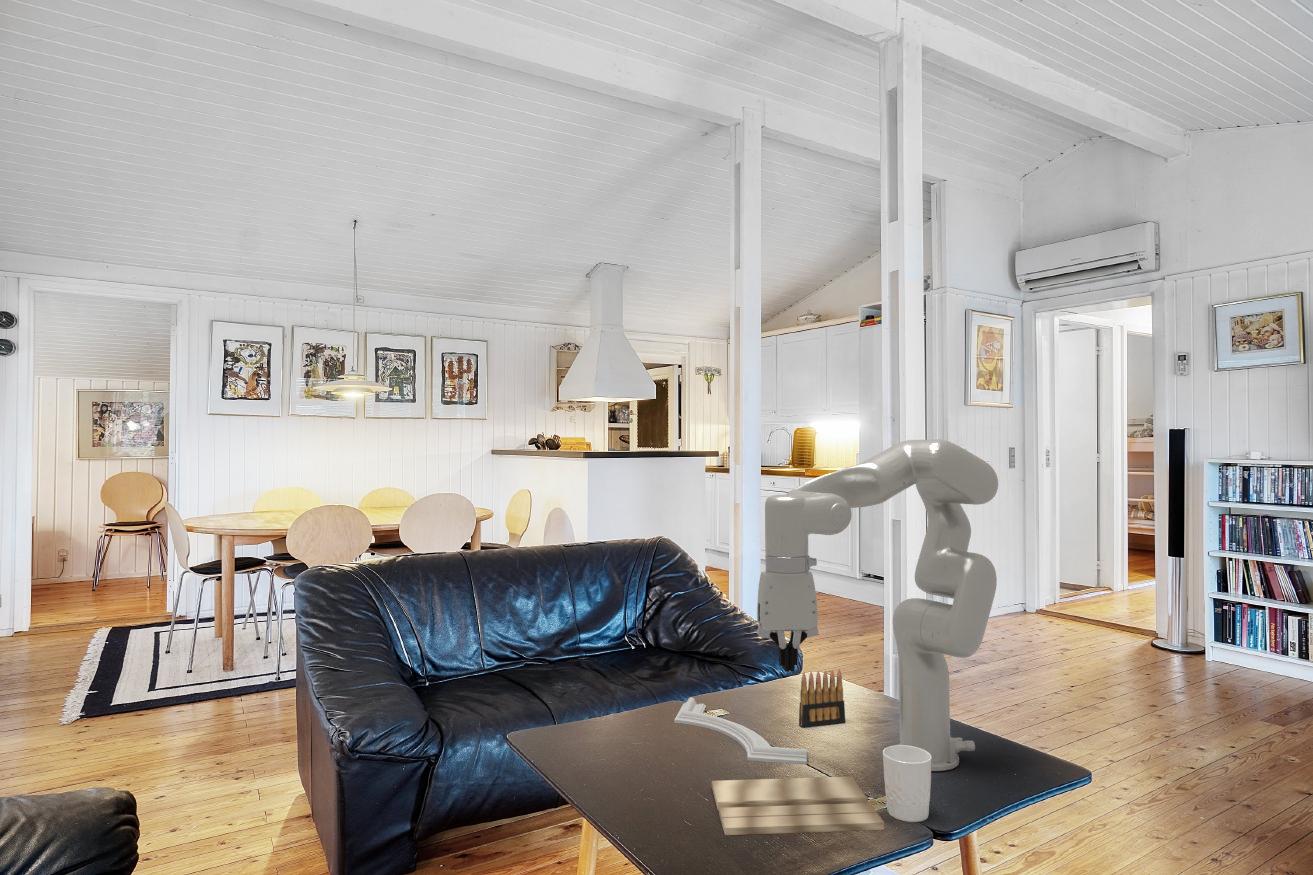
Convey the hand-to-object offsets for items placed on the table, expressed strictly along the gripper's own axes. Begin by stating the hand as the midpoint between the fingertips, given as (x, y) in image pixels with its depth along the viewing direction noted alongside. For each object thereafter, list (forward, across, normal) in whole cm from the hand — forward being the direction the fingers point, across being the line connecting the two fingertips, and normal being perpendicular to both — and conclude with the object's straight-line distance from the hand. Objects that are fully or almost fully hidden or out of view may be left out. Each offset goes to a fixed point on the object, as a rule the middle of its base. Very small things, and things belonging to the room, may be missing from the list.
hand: (788, 669), depth 135 cm
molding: (+24, +4, -34) cm, 42 cm away
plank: (+23, 0, -2) cm, 23 cm away
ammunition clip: (+23, -16, -38) cm, 47 cm away
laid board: (+23, 0, +8) cm, 24 cm away
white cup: (+23, -19, +6) cm, 31 cm away
